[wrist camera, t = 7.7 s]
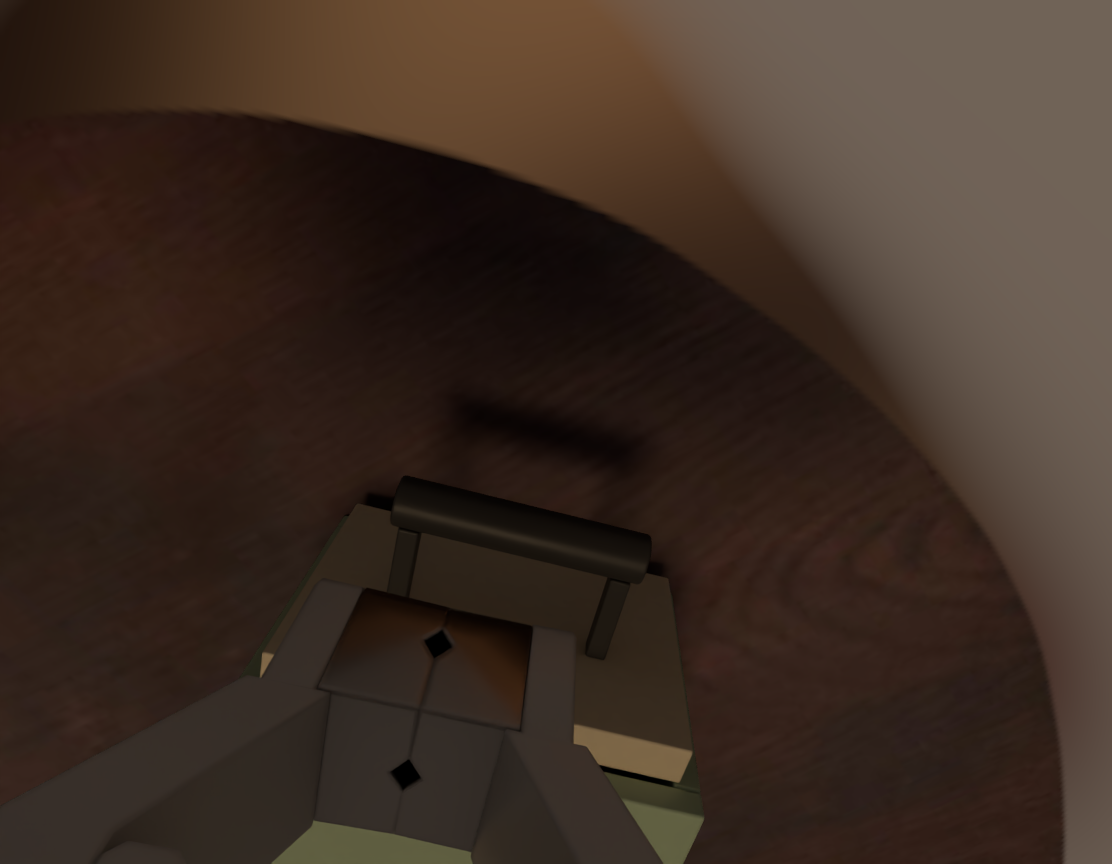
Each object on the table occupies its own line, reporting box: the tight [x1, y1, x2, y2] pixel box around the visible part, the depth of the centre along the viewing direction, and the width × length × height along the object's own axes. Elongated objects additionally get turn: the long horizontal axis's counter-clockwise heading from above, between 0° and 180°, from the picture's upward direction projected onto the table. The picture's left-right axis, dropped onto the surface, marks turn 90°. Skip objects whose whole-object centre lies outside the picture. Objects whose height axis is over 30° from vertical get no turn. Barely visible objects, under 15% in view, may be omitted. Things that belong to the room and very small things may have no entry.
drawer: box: [260, 476, 693, 783], centre depth 24 cm, size 18×11×8 cm, turn 166°
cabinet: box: [239, 516, 704, 864], centre depth 26 cm, size 15×13×10 cm
